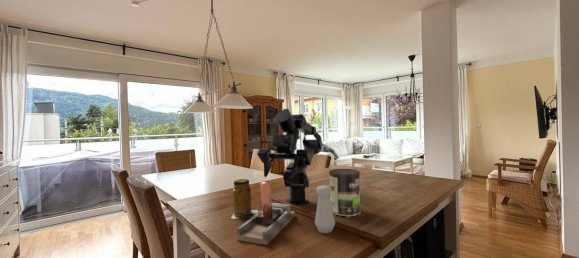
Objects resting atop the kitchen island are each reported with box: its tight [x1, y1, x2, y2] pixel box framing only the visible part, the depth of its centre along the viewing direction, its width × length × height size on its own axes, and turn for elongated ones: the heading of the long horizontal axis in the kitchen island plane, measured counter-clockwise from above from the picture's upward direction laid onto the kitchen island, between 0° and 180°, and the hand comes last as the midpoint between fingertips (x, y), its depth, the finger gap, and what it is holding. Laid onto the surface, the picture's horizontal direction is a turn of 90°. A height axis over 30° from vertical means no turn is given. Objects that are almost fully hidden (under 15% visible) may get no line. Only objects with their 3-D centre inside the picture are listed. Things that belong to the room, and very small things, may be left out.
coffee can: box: [328, 168, 361, 216], centre depth 87 cm, size 10×10×14 cm
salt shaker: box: [314, 184, 336, 234], centre depth 73 cm, size 6×6×13 cm
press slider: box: [256, 180, 282, 225], centre depth 77 cm, size 6×6×12 cm
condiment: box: [230, 178, 260, 220], centre depth 88 cm, size 7×8×12 cm
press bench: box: [236, 202, 296, 246], centre depth 77 cm, size 21×9×4 cm, turn 157°
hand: (277, 177), depth 83 cm, fingers open, 9 cm apart
